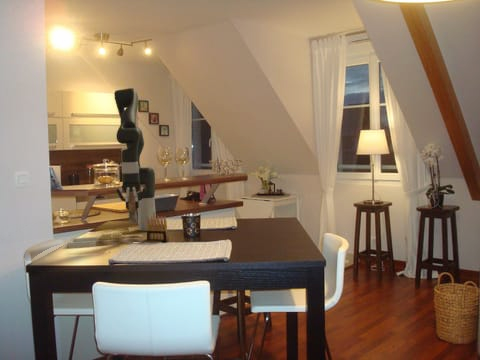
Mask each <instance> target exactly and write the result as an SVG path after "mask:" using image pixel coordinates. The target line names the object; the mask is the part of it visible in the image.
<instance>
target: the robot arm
mask: <svg viewBox="0 0 480 360" xmlns="http://www.w3.org/2000/svg"><path fill="white" fill-rule="evenodd" d="M114 102H115V104H116V108H117V112H118V115H119V118H120V126H119V127H118V129H117V132H116V141H117V142H118V143H119V144H120V145H125V146H126V148H125V149H123V150H122V151H121V175H122V176H121V177H122V179H121V180H122V185H121V187H119V188H117V189H116V193H117V195H118V197H119V199H120V200H121V202H125V209H126V210H127V211H129V203H128V197H129V192H134V197H135V201H136V202H135V206H136V211H137V223H138V231H140V232H141V231H142V232H144V231H145V232H147V218H148V216H149V218H150V224H151V216H152V217H153V224H154V216H155V217H156V216H157V215H156V203H155V200H156V198H155V193H156V174H155V170H154V169H153V168H152V167H142V166H141V163H140V158H141V154H142V151H143V149H144V145H145V140H144V136H143V132H142V129H141V127H140V126H138V124H137V121H136V120H137V119H136V117H137V112H138V107H139V96H138V92H137V90H136V89H135V88H133V87H131V88H130V87H129V88H124V89H118V90H115V91H114ZM139 190H140V191H139ZM123 192H124V193H125V197H124V195H123ZM156 218H157V217H156Z"/></svg>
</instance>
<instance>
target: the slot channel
mask: <svg viewBox="0 0 480 360" xmlns="http://www.w3.org/2000/svg"><path fill="white" fill-rule="evenodd" d="M143 236H144V235H143V234H135V235H131V234H130V235H122V237H123V239H114V240H113V237H112V236H111V240H101V237H99V238H98V241H96V246H95V247H107V246H108V247H110V246H123V245H130V244H129V243H133V242H142V243H143V238H144V237H143Z"/></svg>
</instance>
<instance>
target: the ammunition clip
mask: <svg viewBox="0 0 480 360" xmlns="http://www.w3.org/2000/svg"><path fill="white" fill-rule="evenodd" d="M146 240H147V241H150V240H151V241H161V243H168V242H169V230H168V225H167V217H166V215H164V216H162V215H161V216H159V215H157V217H155V216H154V224H153V217H152V216H151V224H150V218H149V216H148V218H147V231H146Z"/></svg>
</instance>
